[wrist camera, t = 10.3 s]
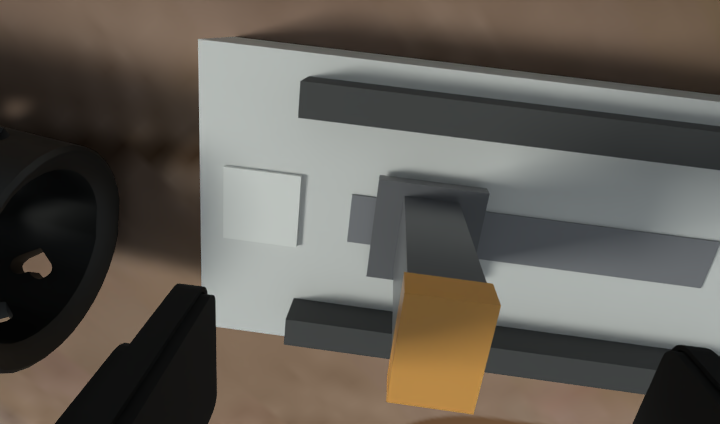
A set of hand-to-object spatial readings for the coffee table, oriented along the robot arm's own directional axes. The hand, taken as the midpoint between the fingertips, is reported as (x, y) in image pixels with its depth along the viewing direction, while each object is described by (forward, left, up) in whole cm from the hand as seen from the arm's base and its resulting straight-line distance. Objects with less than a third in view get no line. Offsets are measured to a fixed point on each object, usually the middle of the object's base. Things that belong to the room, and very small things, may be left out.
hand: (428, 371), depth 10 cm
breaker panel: (+1, +5, -13) cm, 14 cm away
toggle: (+1, 0, -9) cm, 9 cm away
